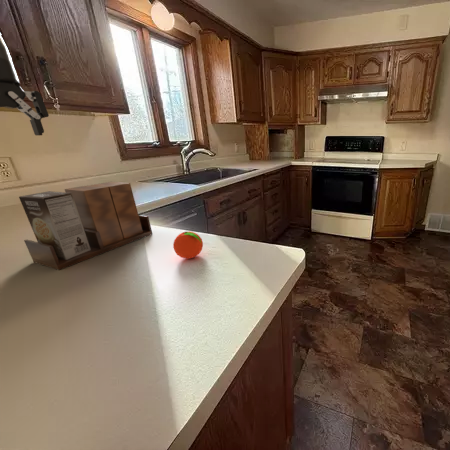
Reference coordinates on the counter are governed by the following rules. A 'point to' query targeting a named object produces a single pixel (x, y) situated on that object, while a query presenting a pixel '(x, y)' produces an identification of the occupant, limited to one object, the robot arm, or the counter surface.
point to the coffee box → (56, 222)
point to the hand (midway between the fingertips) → (15, 135)
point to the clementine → (188, 245)
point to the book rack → (99, 223)
